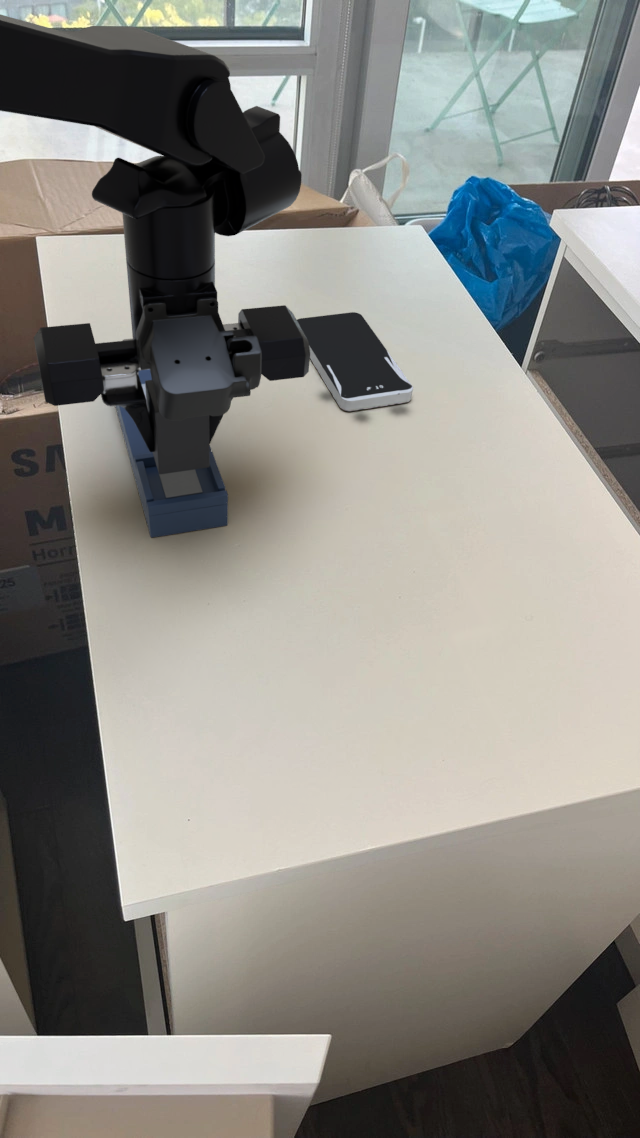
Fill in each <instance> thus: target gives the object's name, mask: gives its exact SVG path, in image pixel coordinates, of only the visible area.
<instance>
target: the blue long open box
mask: <svg viewBox="0 0 640 1138" xmlns="http://www.w3.org/2000/svg"><path fill="white" fill-rule="evenodd" d="M138 372H139V378H140V381H141V384H142V388H143V391H144V394H145V397H146V387H145V381H146V380H152V377H151V372H150V369H148V370H140V371H138ZM146 404H147V401H146ZM115 410H116V413H117V418H118V421H119V424H120V428H121V432H122V436H123V439H124V444H125V447H126V451H127V455H128V458H129V462H130V465H131V469H132V473H133V476H134V481H135V485H136V489H137V491H138V496H139V500H140V503H141V507H142V511H143V514H144V518H145V521H146V526H147V530H148V533H149V536H150V538H151V539H152V538H159V537H165V536H171V535H178V534H183V533H188V532H195V531H202V530H207V529H213V528H220V527H226V526H228V523H229V522H228V520H229V518H228V517H229V516H228V515H229V513H228V512H229V493H228V491H227V490H226V486H225V483H224V480H223V478H222V477H223V476H222V475H221V472H220V469H219V467H218V463H217V461H216V458H215V456H214V453H213V451H212V447H211V445H210V444H209V458H210V466H209V467H208V468H201V469H194V470H187V471H180V472H173V473H166V474H159V472H158V469H157V466H156V462H155V459H154V456H153V452H150V451H149V449H148V447H147V446H146V444H145V442H144V440H143V438H142V436H141V434H140V432H139V430H138V428H137V426H136V424H135V422H134V421H133V419H132V418H131V416H130V415H129V414H128V412H127V411H126V410H125V409H124V408H123V407H121V406H115Z"/></svg>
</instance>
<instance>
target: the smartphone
mask: <svg viewBox="0 0 640 1138" xmlns="http://www.w3.org/2000/svg"><path fill="white" fill-rule="evenodd" d="M296 320H297V322H298V323H299V325H300V327H301V329H302V331H303V333H304V334H305V336H306V338H307V340H308V342H309V348H310V362H312V364H313V366H314V368H315V369H316V371H317V372H318V373H319V375H320V378H321V379H322V380H323V382H324V384H325V385H326V387H327V390H329V392H330V394H331V396H332V397H333V399H334V400H335V402H336V404H337V405H338V407H339V408H340V409H341V410H342V411H345V412H355V411H361V410H367V409H368V410H369V409H373V408H381V407H387V406H393V405H399V404H405V403H406V404H407V403H409V402H411V401H412V398H413V397H412V396H413V392H414V386H413V384H412V383H411V382H410V381H409V379H408V378H407V376H406V375H405V373H404V371H403V370H402V369H401V368H400V366H399V365H398V363H397V362H396V361H395V359H394V358H393V357H392V355H391V354H390V352H389V351H388V350H387V348H386V346H384V344H383V343H382V341H381V340H380V338H379V337H378V336H377V335H376V333H375V331H373V328H372V327H371V326H370V324H369V323H368V322H367V320H366V319H365V318H364V316H363V315H362V314H361V313H359V312H355V311H354V312H353V311H352V312H342V313H334V314H324V315H318V316H317V315H316V316H310V317H299V318H298V319H297V318H296Z"/></svg>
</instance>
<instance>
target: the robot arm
mask: <svg viewBox="0 0 640 1138" xmlns="http://www.w3.org/2000/svg"><path fill="white" fill-rule="evenodd" d="M230 77H231V71H230V68H229V67H228V65H227V64H226V62H225V61H224V60H222V58H219V57H217V55H215V54H211V53H209V52H207V51H203V50H200V49H198V48H195V47H192V46H189V45H187V44H184V43H181V42H177V41H175V40H172V39H169V38H167V37H164V36H161V35H158V34H156V33H153V32H150V31H146V30H144V29H141V28H139V27H134V26H130V25H129V26H126V25H125V26H124V25H123V26H121V25H120V26H119V25H90V26H87V27H86V28H82V29H80V30H60V29H59V30H58V29H55V28H51V27H47V26H44V25H41V24H37V23H33V22H29V21H26V20H21V19H19V18H15V17H10V16H8V15H4V14H0V112H5V113H11V114H12V113H13V114H18V115H23V116H30V117H36V118H41V119H48V120H53V121H59V122H67V123H73V124H79V125H86V126H91V127H94V128H97V129H99V130H101V131H104V132H106V133H108V134H110V135H113V136H115V137H118V138H120V139H122V140H125V141H127V142H129V143H132V144H134V145H136V146H140V147H142V148H144V149H147V150H149V151H151V152H153V153H155V154H158V155H156V156H151V157H149V158H147V159H145V160H142V161H140V162H138V163H133V162H132V161H131V162H130V161H128V160H127V159H123V158H122V157H116V158H115V159H114V160H113V163H112V165H111V167H110V169H109V170H108V171H107V172H106V174H104V175H103V176H102V177H100V178H99V179H98V181H97V183H96V184H95V186H93V189H92V191H91V197H92V199H93V201H95V202H98V203H100V204H102V205H104V206H106V207H108V208H111V209H113V210H115V211H117V212H120V213H121V215H122V226H123V237H124V238H123V239H124V250H125V263H126V273H127V274H126V275H127V287H128V297H129V311H130V321H131V334H132V335H131V336H132V338H124V339H122V340H118V341H107V342H97V343H96V341H95V337H94V333H93V330H92V326H91V323H90V322H87V323H74V324H65V325H55V326H54V325H53V326H43V327H39V329H38V330H37V332H36V333H35V334H34V337H33V342H34V346H35V347H34V348H35V353H36V358H37V363H38V364H37V365H38V369H39V375H40V379H41V385H42V391H43V396H44V402H45V403H47V404H49V405H52V406H54V407H56V406H58V407H59V406H66V405H74V404H84V403H92V402H95V401H96V400H97V399H98V398H99V396H100V398H101V401H102V403H103V404H105V406H108V407H116V406H121V407H123V408H124V409H125V410H126V411H127V412H128V414H129V415H130V416H131V418H132V419H133V421H134V422H135V424H136V426H137V428H138V430H139V432H140V434H141V436H142V438H143V440H144V442H145V444H146V446H147V447H148V449H149V451H150V452H155V446H154V434H153V430H152V425H151V421H150V417H149V413H148V409H147V404H146V397H145V394H144V391H143V388H142V384H141V381H140V378H139V372H138V371H140V370H148V369H150V372H151V377H152V381H153V386H154V390H155V394H156V398H157V404H158V409H159V412H160V414H161V415H162V416H163V417H164V418H165V419H167V420H171V421H180V420H184V419H186V418H191V417H199V416H207V415H209V445H210V444H211V443H212V441H213V438H214V436H215V433H216V431H217V430H218V427H219V425H220V423H221V421H222V419H223V417H224V415H225V414H227V413H228V411H229V410H230V408H231V406H232V405H231V404H232V401H233V399H236V398H242V397H244V398H245V397H250V396H251V391H252V390H255V389H256V388H259V386H260V385H261V379H262V376H263V377H264V378H265V379H267V380H268V381H269V382H273V381H281V380H290V379H291V380H292V379H299V378H304V377H306V375H307V374H308V373H309V372H310V362H311V359H310V348H309V342H308V340H307V338H306V336H305V334H304V333H303V331H302V329H301V327H300V325H299V323H298V322H297V318H296V316H295V314H294V312H293V311H291V309H289V307H288V306H287V305H286V304H285V305H284V304H283V305H273V306H262V307H252V308H250V307H249V308H241V310H240V311H239V312H238V314H237V317H238V318H237V322H236V323H235V322H234V323H223V322H222V319H221V316H220V312H219V301H218V291H217V288H216V235H219V236H224V237H232V236H236V235H239V234H240V233H243V232H244V231H246V230H249V229H250V228H251V227H254V226H255V225H258V224H259V223H261V222H264V221H265V220H267V219H269V218H270V217H272V216H275V215H277V214H279V213H281V212H282V211H284V210H286V209H288V208H290V207H291V206H292V205H293V204H294V203H295V202H296V200H297V198H298V196H299V194H300V192H301V187H302V179H303V178H302V171H301V170H300V167H299V161H298V158H297V157H296V154H295V151H294V150H293V147H292V146H291V144H290V142H289V141H288V140H287V139H286V138H285V136H284V135H283V134H282V133H281V132H280V128H281V115H280V114H279V113H277V112H275V111H272V110H269V109H266V108H264V107H261V106H258V105H255V106H252V107H250V108H248V109H246V110H244V111H243V110H242V108H241V106H240V104H239V102H238V100H237V98H236V96H235V95H234V93H233V91H232V88H231V87H232V86H231V81H230Z"/></svg>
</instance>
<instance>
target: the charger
mask: <svg viewBox="0 0 640 1138" xmlns="http://www.w3.org/2000/svg"><path fill="white" fill-rule="evenodd" d="M145 387H146V401H147V409H148V413H149V417H150V421H151V425H152V430H153V434H154V446H155V452H153V456H154V459H155V462H156V466H157V469H158V472H159V474H166V473H173V472H180V471H187V470H194V469H201V468H208V467H209V466H210V458H209V445H210V444H209V415H207V416H199V417H191V418H186V419H184V420H180V421H171V420H167V419H165V418H164V417H163V416H162V415H161V414H160V412H159V409H158V404H157V398H156V394H155V390H154V386H153V381H152V380H146V381H145Z"/></svg>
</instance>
